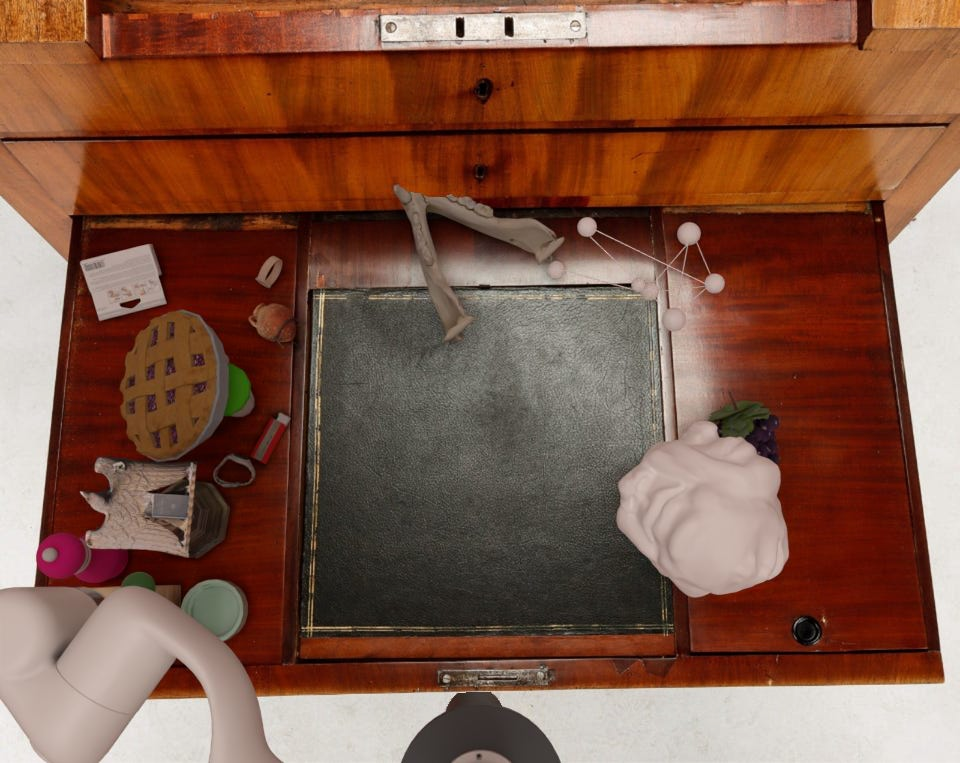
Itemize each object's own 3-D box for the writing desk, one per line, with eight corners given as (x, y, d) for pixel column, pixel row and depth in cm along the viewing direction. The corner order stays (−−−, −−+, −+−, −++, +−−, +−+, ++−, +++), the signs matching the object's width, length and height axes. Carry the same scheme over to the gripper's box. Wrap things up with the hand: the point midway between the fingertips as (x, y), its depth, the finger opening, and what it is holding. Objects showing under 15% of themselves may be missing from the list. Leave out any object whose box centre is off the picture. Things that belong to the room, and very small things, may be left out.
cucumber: (159, 670, 97) (147, 673, 94) (125, 672, 97) (112, 675, 93) (160, 571, 99) (149, 570, 96) (128, 573, 99) (115, 572, 96)
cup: (260, 373, 139) (237, 349, 125) (269, 421, 138) (246, 403, 123) (211, 384, 139) (181, 361, 124) (219, 432, 137) (189, 415, 122)
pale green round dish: (248, 640, 131) (242, 642, 127) (187, 643, 130) (179, 645, 127) (248, 577, 133) (243, 577, 129) (188, 581, 132) (180, 581, 129)
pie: (228, 292, 127) (199, 285, 123) (245, 439, 121) (216, 437, 117) (136, 342, 138) (107, 337, 134) (148, 479, 132) (118, 478, 128)
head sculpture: (685, 650, 113) (562, 529, 129) (777, 625, 128) (656, 520, 144) (774, 498, 104) (630, 390, 121) (861, 491, 120) (723, 396, 136)
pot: (316, 326, 140) (289, 356, 141) (280, 292, 141) (255, 322, 142) (302, 324, 134) (275, 355, 135) (265, 289, 135) (238, 320, 136)
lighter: (267, 465, 136) (292, 418, 138) (264, 463, 135) (290, 417, 137) (251, 457, 137) (276, 411, 138) (248, 455, 135) (274, 409, 137)
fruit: (808, 470, 131) (776, 378, 129) (748, 500, 130) (714, 407, 127) (771, 459, 141) (740, 373, 139) (714, 487, 140) (682, 400, 137)
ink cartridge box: (153, 243, 142) (171, 303, 143) (83, 260, 141) (102, 320, 143) (149, 243, 139) (167, 303, 141) (78, 260, 139) (97, 321, 140)
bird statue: (268, 476, 136) (203, 442, 102) (256, 563, 133) (184, 558, 99) (161, 466, 136) (59, 428, 102) (146, 553, 133) (36, 544, 99)
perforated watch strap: (259, 284, 143) (251, 274, 138) (275, 260, 144) (268, 249, 139) (273, 292, 142) (266, 282, 137) (289, 268, 143) (283, 257, 138)
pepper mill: (139, 542, 133) (84, 536, 114) (120, 589, 132) (61, 591, 112) (94, 527, 134) (32, 518, 114) (75, 573, 132) (8, 573, 113)
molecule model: (677, 246, 151) (705, 341, 145) (539, 253, 145) (562, 353, 139) (715, 199, 139) (748, 302, 133) (565, 205, 132) (592, 313, 126)
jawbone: (458, 144, 146) (461, 107, 131) (563, 251, 145) (578, 226, 130) (347, 246, 144) (336, 221, 129) (453, 356, 143) (455, 344, 128)
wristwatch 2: (254, 484, 133) (248, 451, 133) (213, 491, 133) (207, 458, 133) (259, 480, 137) (253, 448, 136) (219, 487, 137) (214, 455, 136)
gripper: (-27, 679, 79) (65, 661, 97) (161, 666, 79) (218, 651, 97) (-22, 592, 81) (68, 591, 99) (162, 580, 81) (218, 581, 99)
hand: (142, 621), depth 98 cm, fingers closed on cucumber, 3 cm apart
